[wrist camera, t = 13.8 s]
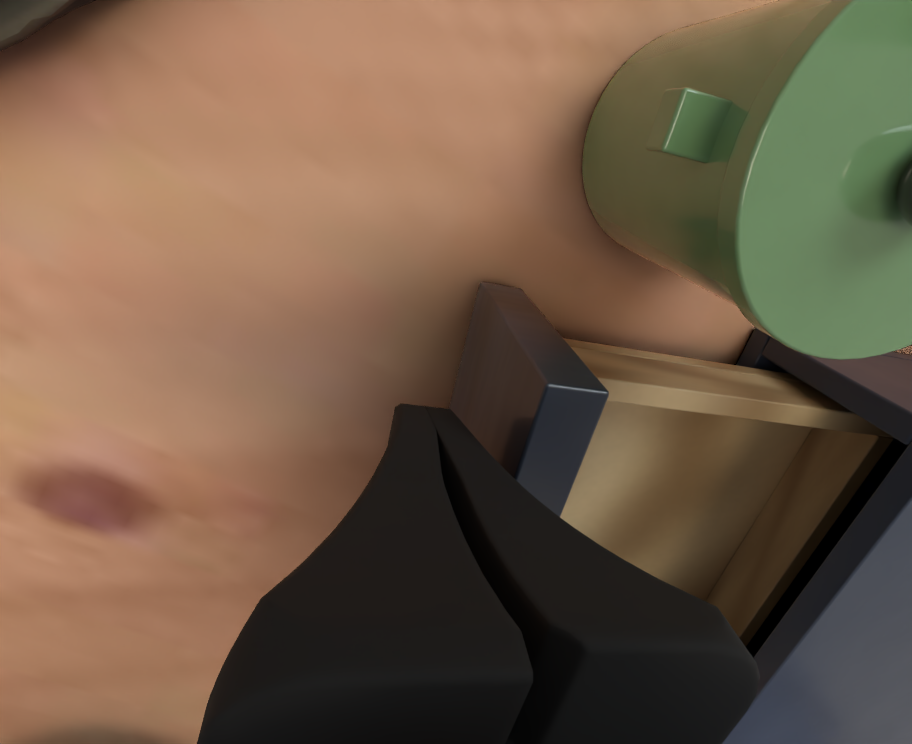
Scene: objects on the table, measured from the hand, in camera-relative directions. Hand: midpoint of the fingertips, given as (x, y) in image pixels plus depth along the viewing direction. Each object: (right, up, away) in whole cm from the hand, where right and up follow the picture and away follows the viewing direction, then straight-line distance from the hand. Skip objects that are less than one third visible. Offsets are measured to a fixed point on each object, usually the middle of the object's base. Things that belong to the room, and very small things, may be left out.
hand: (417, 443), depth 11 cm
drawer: (+5, -2, +6) cm, 8 cm away
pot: (+7, +7, +1) cm, 10 cm away
